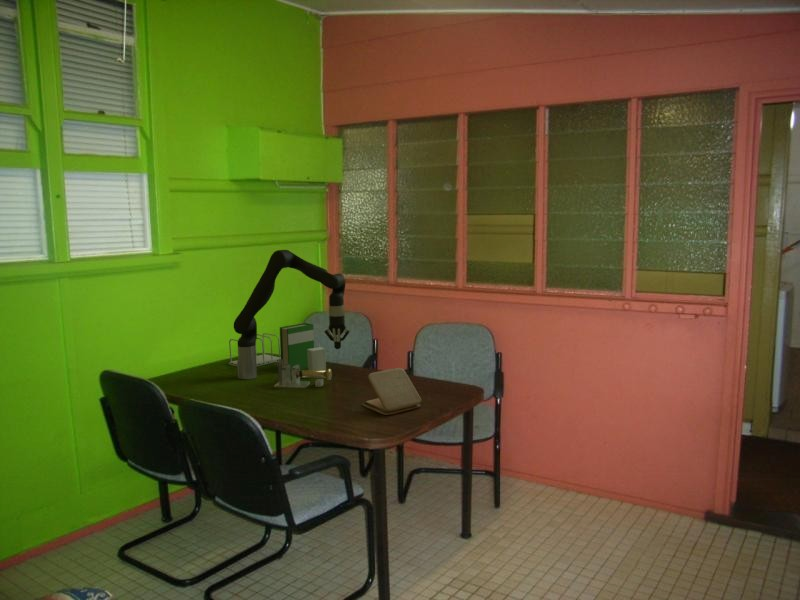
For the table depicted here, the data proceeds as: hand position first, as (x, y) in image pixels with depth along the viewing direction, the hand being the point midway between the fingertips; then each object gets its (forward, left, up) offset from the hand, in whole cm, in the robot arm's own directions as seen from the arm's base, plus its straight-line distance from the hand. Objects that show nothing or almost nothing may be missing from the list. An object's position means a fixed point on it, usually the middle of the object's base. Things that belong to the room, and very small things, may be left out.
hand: (337, 348), depth 323 cm
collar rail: (-20, 0, -19) cm, 28 cm away
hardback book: (-31, +35, -19) cm, 51 cm away
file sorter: (-59, +45, -19) cm, 77 cm away
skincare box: (-16, +19, -19) cm, 31 cm away
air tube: (-14, 0, -16) cm, 21 cm away
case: (+31, -31, -20) cm, 48 cm away
